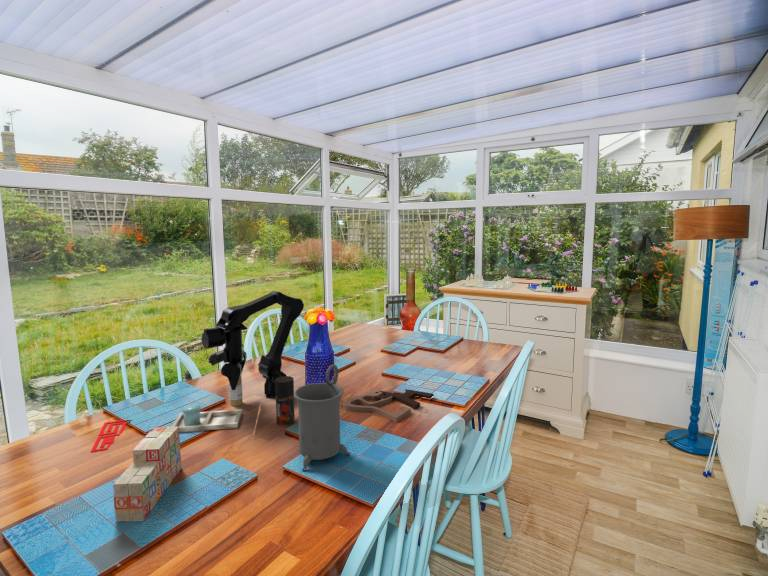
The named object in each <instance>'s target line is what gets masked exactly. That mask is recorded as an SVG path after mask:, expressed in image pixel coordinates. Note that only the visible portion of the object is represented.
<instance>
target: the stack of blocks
mask: <svg viewBox="0 0 768 576" xmlns="http://www.w3.org/2000/svg"><path fill="white" fill-rule="evenodd" d="M132 459H133V460H132V463H131V464H130V465H129V466H128V468H126V469H125V471H124V472H123V473H122V474H120V476H119V478H117V480H115V482H114V483H113V486H112V487H113V488H112V489H113V507H114V508H113V509H114V516H115V522H116V523H118V522H117V521H126V522H140V521H139V520H144V519H145V520H146V518H148V515H149V514H150V513H151V512H152V511H153V509H154V508H155V507H156V505H157V503H158V502H159V501H158V500H160V499H161V498H162V496H163V495H162V494H164V493H165V492H166V490H167V489H168V488H169V486H170V485H171V484H172V482H173V481H174V479H176V476H177V475H178V474H179V472H180V471H181V470H182V457H181V441H180V432H179V427H171V426H155V427H154V428H153V429H151V430H150V432H148V433H147V434H146V435H145V436H144V438H143V439H141V440H140V442H138V444H137V445H136V446H135V447H134V448H133V449H132ZM164 491H165V492H164ZM160 497H161V498H160ZM157 501H158V502H157ZM153 507H154V508H153ZM150 511H151V512H150ZM149 512H150V513H149ZM145 520H144V521H145Z"/></svg>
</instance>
